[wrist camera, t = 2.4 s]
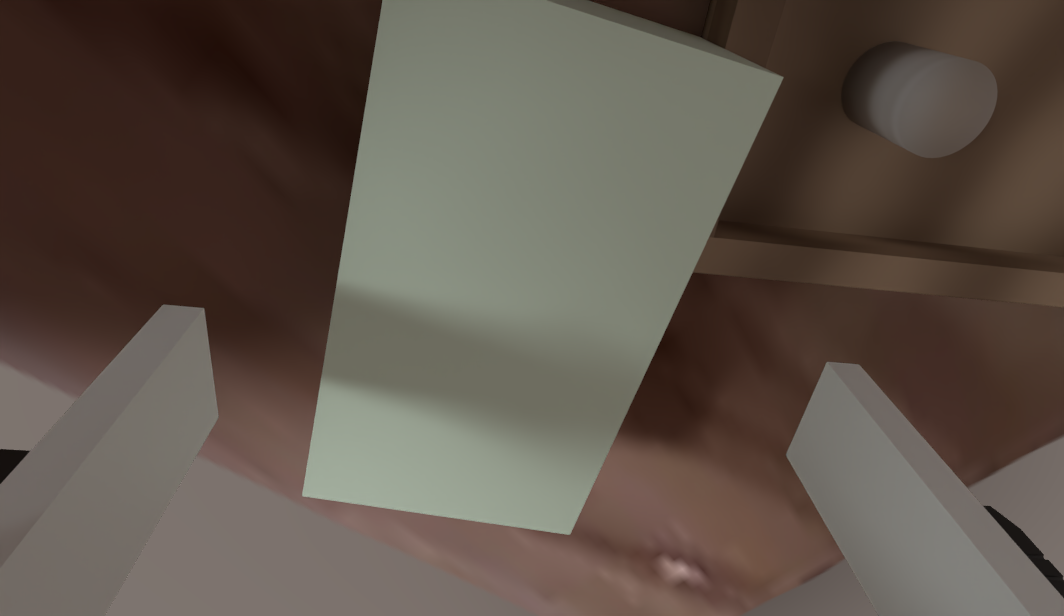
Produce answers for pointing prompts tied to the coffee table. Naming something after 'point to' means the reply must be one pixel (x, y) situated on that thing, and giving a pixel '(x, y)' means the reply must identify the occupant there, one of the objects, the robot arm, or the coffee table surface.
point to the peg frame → (900, 147)
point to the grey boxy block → (517, 249)
